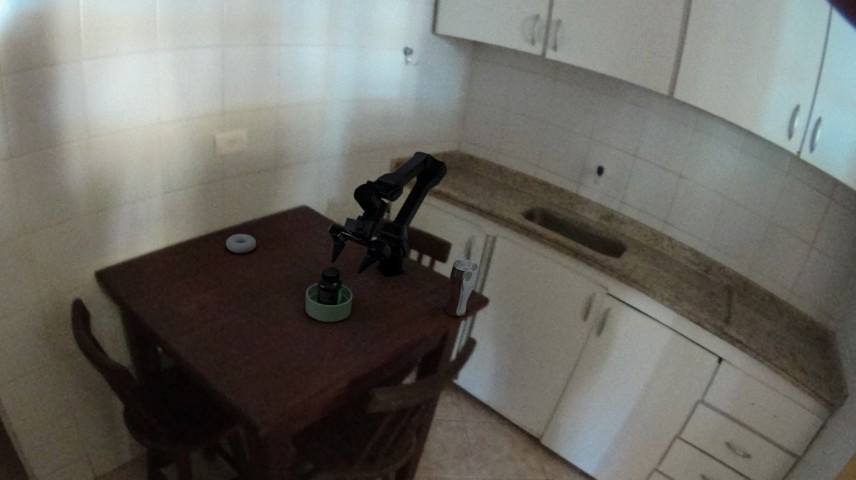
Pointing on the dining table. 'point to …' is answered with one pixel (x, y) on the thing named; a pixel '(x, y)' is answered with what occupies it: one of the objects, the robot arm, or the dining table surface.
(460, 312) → the beer glass
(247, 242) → the donut
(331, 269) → the supplement bottle
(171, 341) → the dining table surface
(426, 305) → the dining table surface
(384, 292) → the dining table surface
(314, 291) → the green round bowl
